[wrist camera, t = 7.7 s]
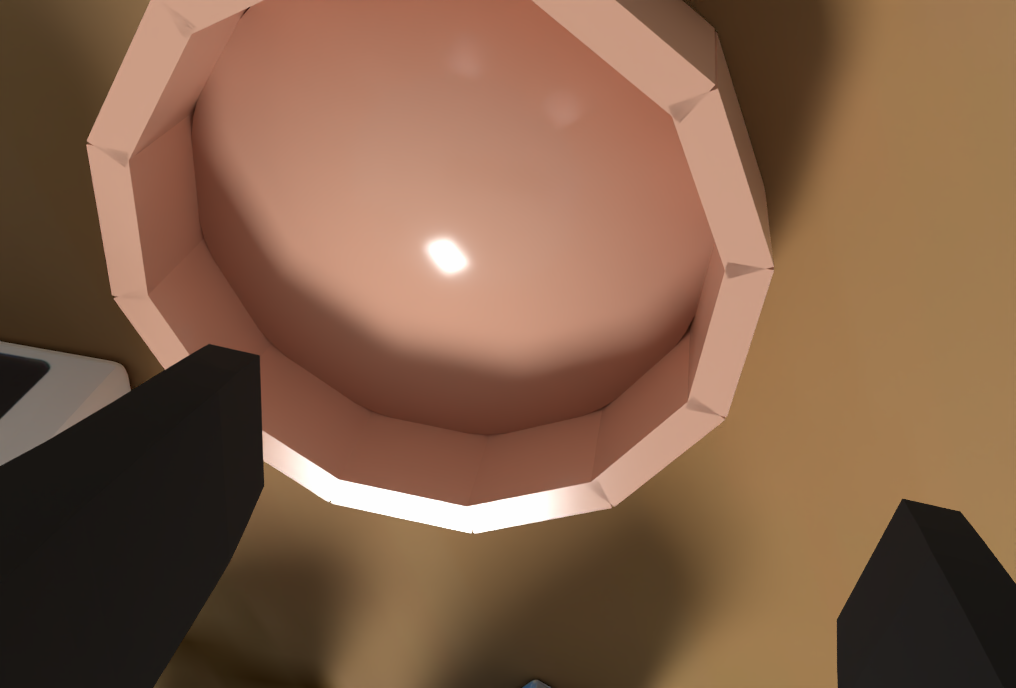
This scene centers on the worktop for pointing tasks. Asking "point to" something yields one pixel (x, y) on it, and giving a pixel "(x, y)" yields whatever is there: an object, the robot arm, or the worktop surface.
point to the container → (50, 394)
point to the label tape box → (536, 684)
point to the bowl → (443, 238)
